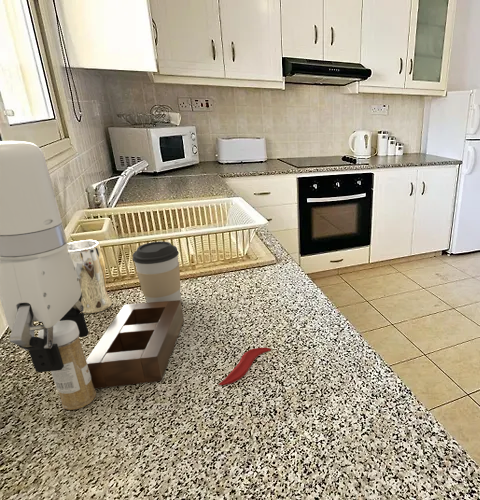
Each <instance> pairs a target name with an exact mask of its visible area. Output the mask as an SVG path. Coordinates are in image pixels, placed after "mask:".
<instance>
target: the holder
mask: <svg viewBox="0 0 480 500" xmlns="http://www.w3.org/2000/svg"><path fill="white" fill-rule="evenodd" d="M184 321H185V318H184V311H183V305H182V299H181V300H176V301H162V302H149V303H147V302H137V303H127V304H123V306H122V307H121V308H120V310H119V312H117V314H116V316H115V317H114V319H113V320H112V322H111V323H110V324H109V325H108V327H107V329H106V330H105V332H104V333H103V335H102V336H101V337H100V339H99V340H98V341H97V343H96V345H95V346H94V348H93V349H92V350H91V351H90V353H89V354H88V356H87V358H86V362H87V365H88V368H89V371H90V375H91V380H92V383H93V386H94V389H95V390H96V389H105V388H112V387H114V388H115V387H121V386H131V385H139V384H146V383H147V384H148V383H155V382H162V381H163V380H164V376H165V373H166V371H167V368H168V365H169V362H170V360H171V358H172V357H171V356H172V355H173V351H174V350H175V346H176V343H177V342H178V338H179V335H180V332H181V330H182V328H183V324H184Z"/></svg>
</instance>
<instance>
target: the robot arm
mask: <svg viewBox="0 0 480 500" xmlns="http://www.w3.org/2000/svg"><path fill="white" fill-rule="evenodd" d="M64 227H65V226H64V223H63V220H62V216H61V213H60V210H59V205H58V202H57V197H56V193H55V190H54V187H53V183H52V179H51V176H50V172H49V168H48V164H47V160H46V157H45V154H44V151H43V150H42V149H41V148H40V147H39V146H38V145H36V144H35V143H33V142H29V141H21V140H0V303H1V308H2V310H3V314H4V318H5V320H6V324H7V327H8V328H9V330H10V331H11V332H10V335H9V341H10V342H11V343H12V344H14V345H16V346H18V347H19V348H21V349H23V350H24V351H25V352H28V353H29V356H30V359H31V362H32V365H33V367H34V371H35V372H37V373H49V372H51V371H57V370H61V369H62V368H63V367H64V364H63V361H62V358H61V355H60V351H59V348H58V345H57V344H53V326H54V325H55V324H56V323H57V322H58V321H63V320H71V321H74V322H76V324H77V326H78V329H79V338H85V337H86V338H87V336H88V335H89V334H90V332H89V328H88V325H87V321H86V317H85V313H82V312H83V310H84V307H83V305H82V303H81V298H82V294H81V279H79V278H78V276H77V272H76V269H75V266H74V263H73V260H72V258H71V255H70V253H69V250H68V248H67V246H68V244H69V242H68V239H67V235H66V231H65V228H64ZM34 322H38V323H42V324H36V325H34ZM42 329H44V335H43V339H42V338H39V337H38V336H35V331H40V330H42Z"/></svg>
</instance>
